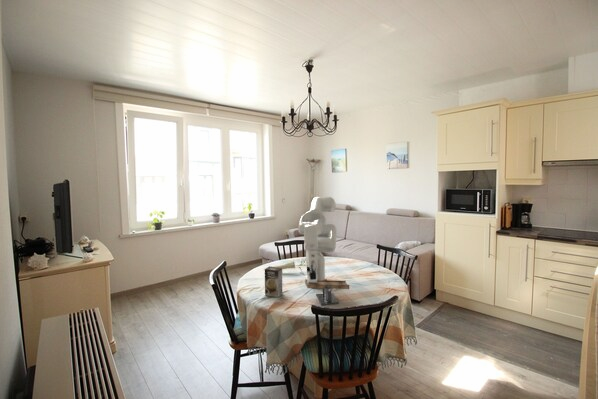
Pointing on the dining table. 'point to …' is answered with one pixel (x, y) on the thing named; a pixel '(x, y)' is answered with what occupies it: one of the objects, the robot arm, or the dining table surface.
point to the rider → (310, 279)
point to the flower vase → (289, 265)
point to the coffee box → (273, 281)
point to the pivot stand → (327, 297)
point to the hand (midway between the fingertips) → (311, 276)
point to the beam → (324, 283)
